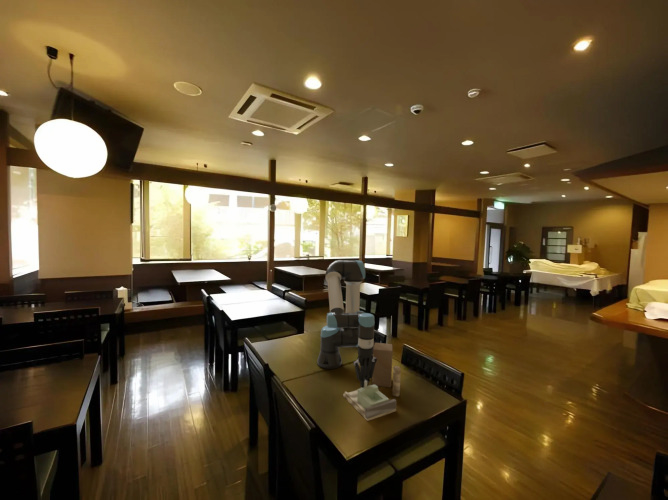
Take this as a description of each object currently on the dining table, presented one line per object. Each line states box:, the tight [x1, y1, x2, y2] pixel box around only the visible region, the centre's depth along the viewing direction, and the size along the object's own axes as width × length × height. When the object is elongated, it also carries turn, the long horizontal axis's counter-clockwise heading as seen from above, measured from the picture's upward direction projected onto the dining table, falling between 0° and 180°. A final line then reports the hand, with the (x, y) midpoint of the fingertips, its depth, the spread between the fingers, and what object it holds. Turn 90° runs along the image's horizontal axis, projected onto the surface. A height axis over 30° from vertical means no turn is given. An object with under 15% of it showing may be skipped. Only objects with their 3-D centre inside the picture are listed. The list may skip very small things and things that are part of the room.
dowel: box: [392, 365, 402, 398], centre depth 142 cm, size 4×4×14 cm
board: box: [342, 384, 397, 422], centre depth 134 cm, size 21×16×5 cm
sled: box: [357, 384, 390, 409], centre depth 131 cm, size 11×10×6 cm
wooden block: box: [371, 342, 393, 388], centre depth 154 cm, size 10×10×20 cm
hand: (364, 393), depth 137 cm, fingers closed
